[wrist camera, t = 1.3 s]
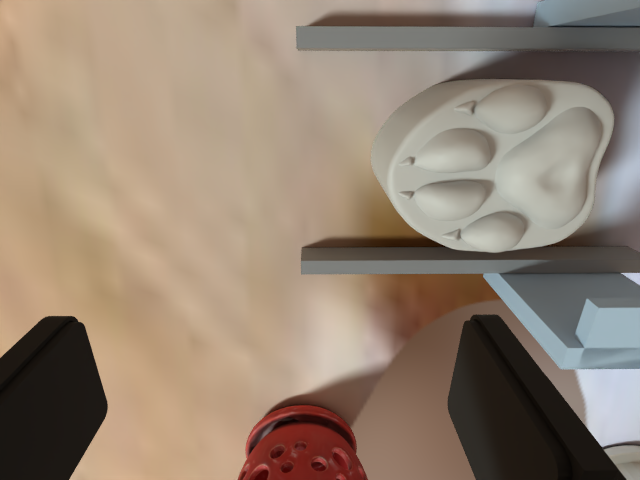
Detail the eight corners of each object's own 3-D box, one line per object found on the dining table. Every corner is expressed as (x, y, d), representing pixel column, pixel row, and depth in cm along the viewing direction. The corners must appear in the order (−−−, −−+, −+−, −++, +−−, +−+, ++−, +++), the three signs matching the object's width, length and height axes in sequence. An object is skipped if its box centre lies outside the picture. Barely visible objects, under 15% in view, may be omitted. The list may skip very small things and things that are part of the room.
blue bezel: (685, 3, 25) (952, -49, 15) (594, 276, 34) (723, 367, 23) (537, 2, 25) (699, -51, 15) (483, 276, 33) (560, 369, 23)
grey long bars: (704, 32, 26) (742, 28, 24) (623, 258, 33) (646, 272, 31) (297, 30, 26) (296, 26, 23) (302, 260, 33) (301, 274, 30)
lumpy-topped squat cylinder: (527, 212, 31) (600, 259, 23) (370, 219, 31) (389, 268, 23) (552, 75, 27) (652, 75, 19) (371, 83, 27) (395, 87, 19)
